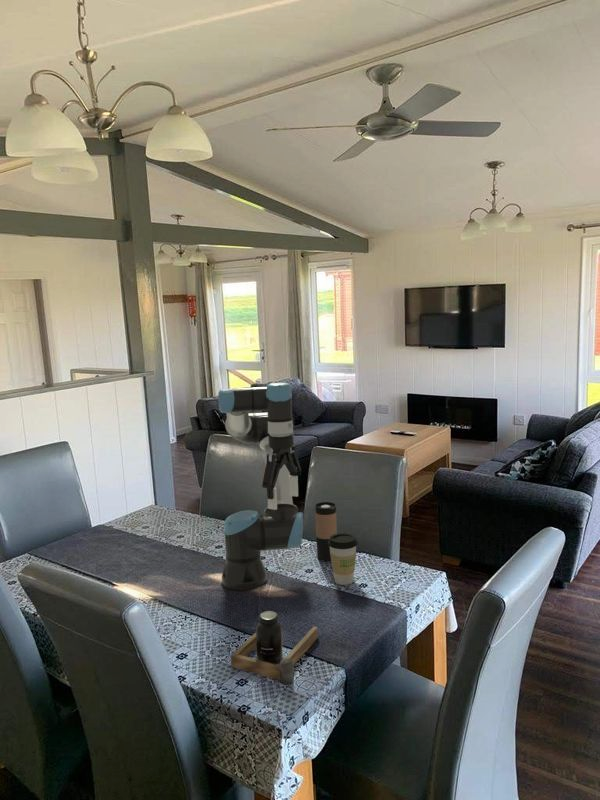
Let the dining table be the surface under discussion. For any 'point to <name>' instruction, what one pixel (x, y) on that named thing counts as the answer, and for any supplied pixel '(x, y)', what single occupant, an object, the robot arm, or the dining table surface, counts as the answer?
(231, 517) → the robot arm
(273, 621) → the supplement bottle
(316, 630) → the bay
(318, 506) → the travel mug
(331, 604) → the dining table surface
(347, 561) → the coffee cup
